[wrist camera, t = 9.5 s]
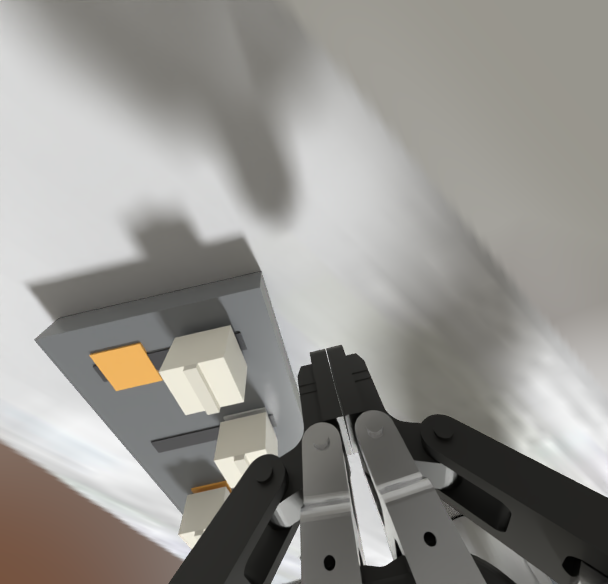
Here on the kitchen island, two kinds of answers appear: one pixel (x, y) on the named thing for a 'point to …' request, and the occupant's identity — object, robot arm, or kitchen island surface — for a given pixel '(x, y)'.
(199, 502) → the tab back
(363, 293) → the kitchen island surface
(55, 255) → the kitchen island surface
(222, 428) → the tab middle
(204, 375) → the tab front
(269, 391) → the switch panel
